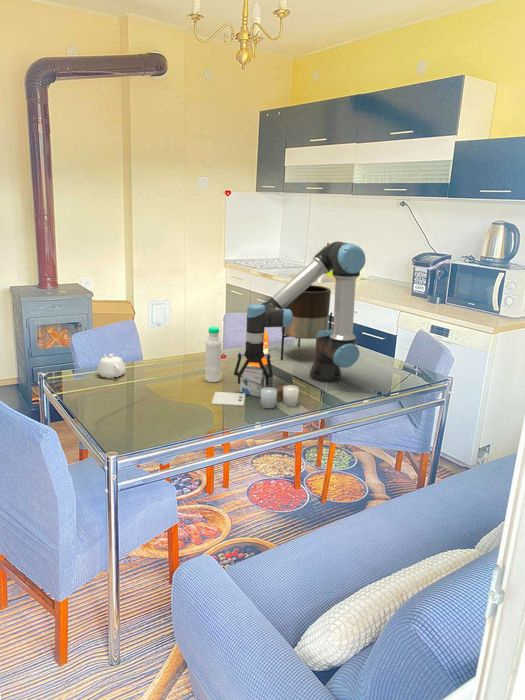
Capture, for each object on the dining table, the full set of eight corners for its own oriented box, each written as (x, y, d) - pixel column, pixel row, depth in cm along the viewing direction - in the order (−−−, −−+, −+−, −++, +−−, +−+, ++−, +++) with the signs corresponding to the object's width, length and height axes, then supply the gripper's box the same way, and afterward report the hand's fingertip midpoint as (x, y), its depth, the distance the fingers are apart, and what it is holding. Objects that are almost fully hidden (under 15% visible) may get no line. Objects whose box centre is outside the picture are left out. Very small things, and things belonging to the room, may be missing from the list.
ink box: (241, 393, 221) (242, 368, 218) (245, 390, 226) (246, 364, 222) (259, 397, 218) (261, 371, 215) (263, 393, 223) (265, 367, 220)
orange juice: (267, 363, 263) (269, 326, 257) (258, 368, 256) (259, 329, 250) (254, 360, 267) (256, 323, 261) (245, 364, 260) (246, 326, 254)
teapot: (91, 370, 241) (90, 350, 238) (117, 367, 248) (116, 346, 245) (104, 383, 225) (104, 361, 222) (132, 379, 232) (131, 358, 229)
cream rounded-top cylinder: (297, 401, 216) (298, 385, 214) (297, 407, 210) (298, 391, 208) (282, 400, 216) (283, 384, 214) (282, 406, 210) (283, 390, 208)
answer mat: (245, 394, 220) (245, 393, 220) (243, 406, 208) (243, 404, 207) (215, 393, 220) (215, 391, 220) (211, 404, 208) (211, 403, 208)
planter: (275, 348, 290) (279, 282, 280) (319, 349, 293) (324, 284, 283) (282, 363, 265) (286, 291, 254) (330, 363, 268) (336, 292, 257)
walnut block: (282, 396, 221) (282, 385, 219) (287, 400, 216) (288, 389, 215) (271, 397, 219) (272, 386, 217) (277, 401, 214) (277, 390, 213)
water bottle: (218, 383, 232) (219, 330, 225) (203, 381, 233) (203, 328, 226) (222, 378, 238) (223, 326, 231) (207, 377, 240) (208, 325, 233)
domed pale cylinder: (275, 403, 212) (276, 387, 210) (275, 409, 206) (276, 393, 204) (260, 402, 213) (261, 386, 211) (260, 408, 206) (260, 392, 204)
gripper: (280, 340, 219) (278, 389, 225) (229, 337, 219) (228, 386, 225) (280, 345, 212) (278, 395, 218) (227, 342, 212) (226, 392, 218)
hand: (252, 391), depth 222 cm, fingers closed on ink box, 9 cm apart
